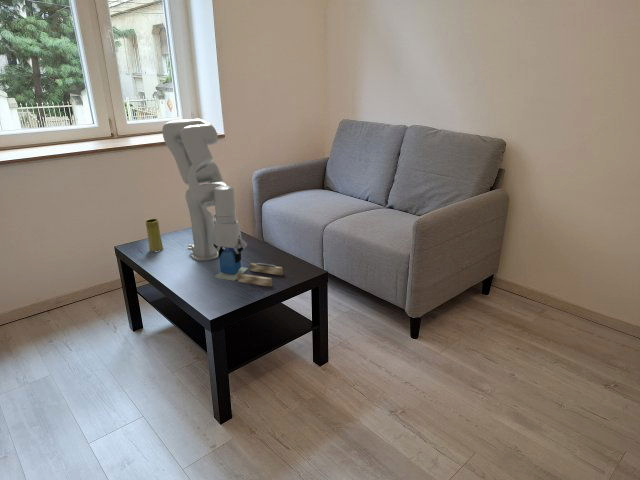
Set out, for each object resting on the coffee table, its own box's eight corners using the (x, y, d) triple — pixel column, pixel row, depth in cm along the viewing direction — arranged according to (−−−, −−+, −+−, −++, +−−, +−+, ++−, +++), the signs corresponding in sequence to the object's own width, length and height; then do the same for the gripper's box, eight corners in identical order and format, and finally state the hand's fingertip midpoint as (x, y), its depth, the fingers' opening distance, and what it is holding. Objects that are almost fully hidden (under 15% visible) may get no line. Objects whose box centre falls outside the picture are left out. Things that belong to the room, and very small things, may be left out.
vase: (166, 248, 204) (161, 219, 199) (155, 253, 199) (150, 223, 194) (157, 246, 207) (152, 217, 202) (146, 250, 203) (141, 221, 197)
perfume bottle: (235, 273, 175) (232, 245, 170) (220, 272, 176) (217, 244, 172) (241, 267, 180) (238, 239, 176) (226, 266, 182) (224, 238, 177)
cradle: (237, 281, 172) (237, 273, 171) (251, 269, 182) (250, 261, 181) (270, 286, 168) (270, 278, 166) (282, 274, 178) (282, 265, 176)
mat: (214, 277, 175) (214, 276, 175) (228, 266, 185) (228, 265, 185) (234, 280, 173) (234, 279, 172) (247, 269, 182) (247, 268, 182)
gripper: (201, 219, 170) (206, 261, 176) (241, 223, 164) (245, 267, 171) (211, 213, 176) (216, 254, 183) (250, 217, 171) (253, 259, 177)
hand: (230, 260), depth 177 cm, fingers closed on perfume bottle, 6 cm apart
